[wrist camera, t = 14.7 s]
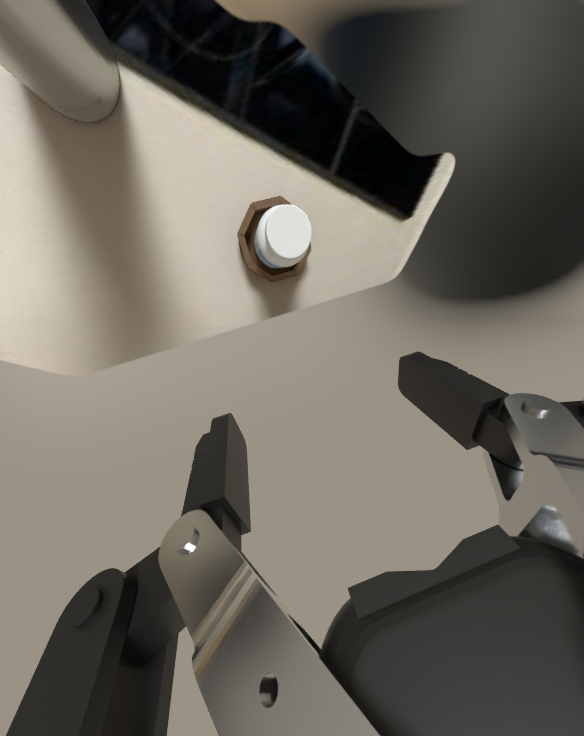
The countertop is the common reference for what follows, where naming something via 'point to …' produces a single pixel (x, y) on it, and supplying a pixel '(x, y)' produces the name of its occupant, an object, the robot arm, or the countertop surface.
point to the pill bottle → (282, 236)
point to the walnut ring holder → (248, 247)
